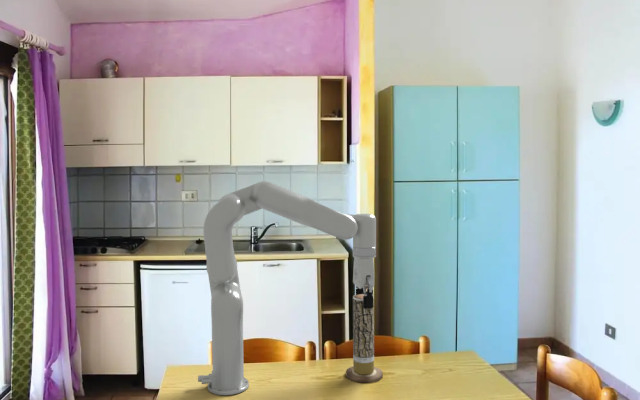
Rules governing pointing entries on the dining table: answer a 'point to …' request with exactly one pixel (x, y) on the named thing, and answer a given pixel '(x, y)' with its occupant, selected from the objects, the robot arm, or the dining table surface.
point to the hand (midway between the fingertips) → (364, 304)
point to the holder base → (364, 376)
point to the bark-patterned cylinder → (363, 337)
